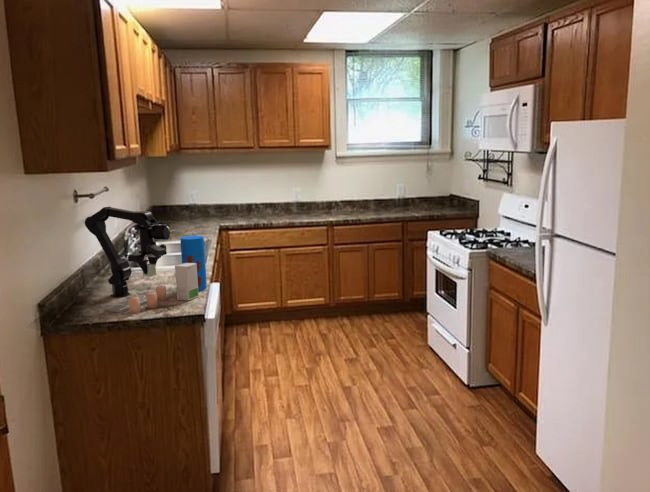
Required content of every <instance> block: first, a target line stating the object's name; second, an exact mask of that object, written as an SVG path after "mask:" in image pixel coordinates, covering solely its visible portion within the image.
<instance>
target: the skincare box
mask: <svg viewBox="0 0 650 492" xmlns="http://www.w3.org/2000/svg"><path fill="white" fill-rule="evenodd" d="M174 270H175V283H176V285H175V286H176V298H177V300H179V301H191V300H193V299H196V298H199V296H200V294H199V292H200V291H198V278H197V263H183V264H182V263H179V264H177V265H174Z"/></svg>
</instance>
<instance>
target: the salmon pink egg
mask: <svg viewBox="0 0 650 492" xmlns="http://www.w3.org/2000/svg"><path fill="white" fill-rule="evenodd" d="M145 298H146V301H147V303H146V307H147V308H146V309H151V310H152V309H156V308H158V306H159V304H158V302H159V301H157V293H156V291H151V292H147V293H145Z"/></svg>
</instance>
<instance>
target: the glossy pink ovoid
mask: <svg viewBox="0 0 650 492" xmlns="http://www.w3.org/2000/svg"><path fill="white" fill-rule="evenodd" d="M155 292H156V293H157V302H165V301H167V300H168V298H167V296H168V295H167V286H166V285H158V286H155Z"/></svg>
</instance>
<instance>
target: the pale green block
mask: <svg viewBox="0 0 650 492" xmlns="http://www.w3.org/2000/svg"><path fill="white" fill-rule="evenodd" d="M156 267H157V266H155V264H149V263H147V274H144V272H143V271H142V276H143V277H149V278H150V277H154V276H156V275H157V270H156Z"/></svg>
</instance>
